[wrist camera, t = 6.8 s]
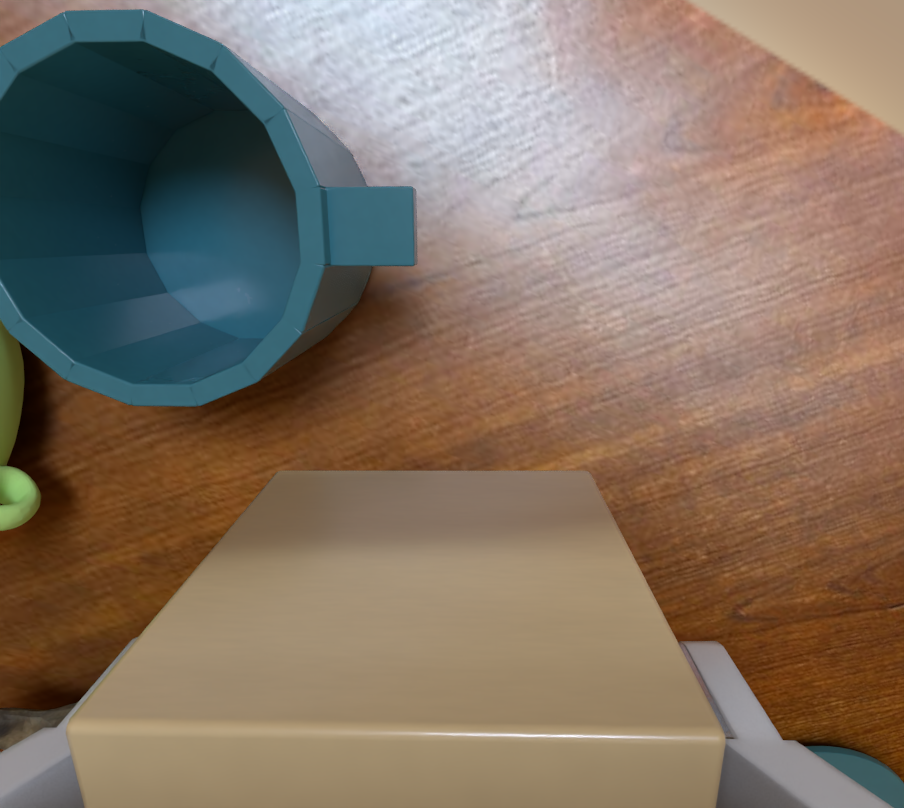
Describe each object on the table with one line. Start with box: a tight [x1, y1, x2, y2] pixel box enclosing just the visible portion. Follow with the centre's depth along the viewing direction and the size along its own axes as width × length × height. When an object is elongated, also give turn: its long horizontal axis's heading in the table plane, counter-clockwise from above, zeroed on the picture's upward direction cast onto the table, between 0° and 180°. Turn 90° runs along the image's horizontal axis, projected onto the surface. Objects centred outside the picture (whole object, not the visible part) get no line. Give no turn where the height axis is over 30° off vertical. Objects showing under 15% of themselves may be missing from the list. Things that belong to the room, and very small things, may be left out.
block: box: [66, 471, 725, 808], centre depth 7 cm, size 5×5×5 cm
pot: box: [0, 9, 417, 407], centre depth 22 cm, size 12×17×10 cm
